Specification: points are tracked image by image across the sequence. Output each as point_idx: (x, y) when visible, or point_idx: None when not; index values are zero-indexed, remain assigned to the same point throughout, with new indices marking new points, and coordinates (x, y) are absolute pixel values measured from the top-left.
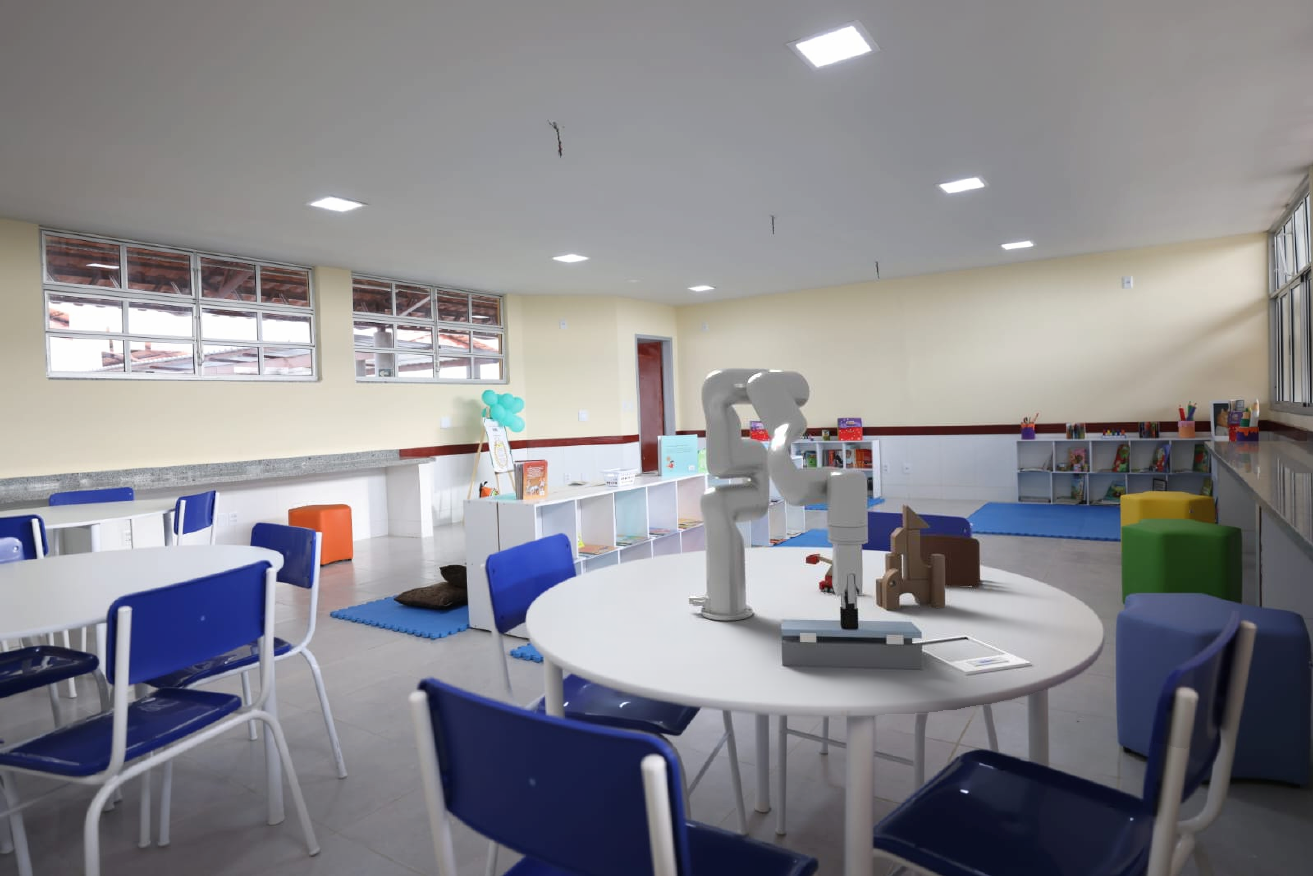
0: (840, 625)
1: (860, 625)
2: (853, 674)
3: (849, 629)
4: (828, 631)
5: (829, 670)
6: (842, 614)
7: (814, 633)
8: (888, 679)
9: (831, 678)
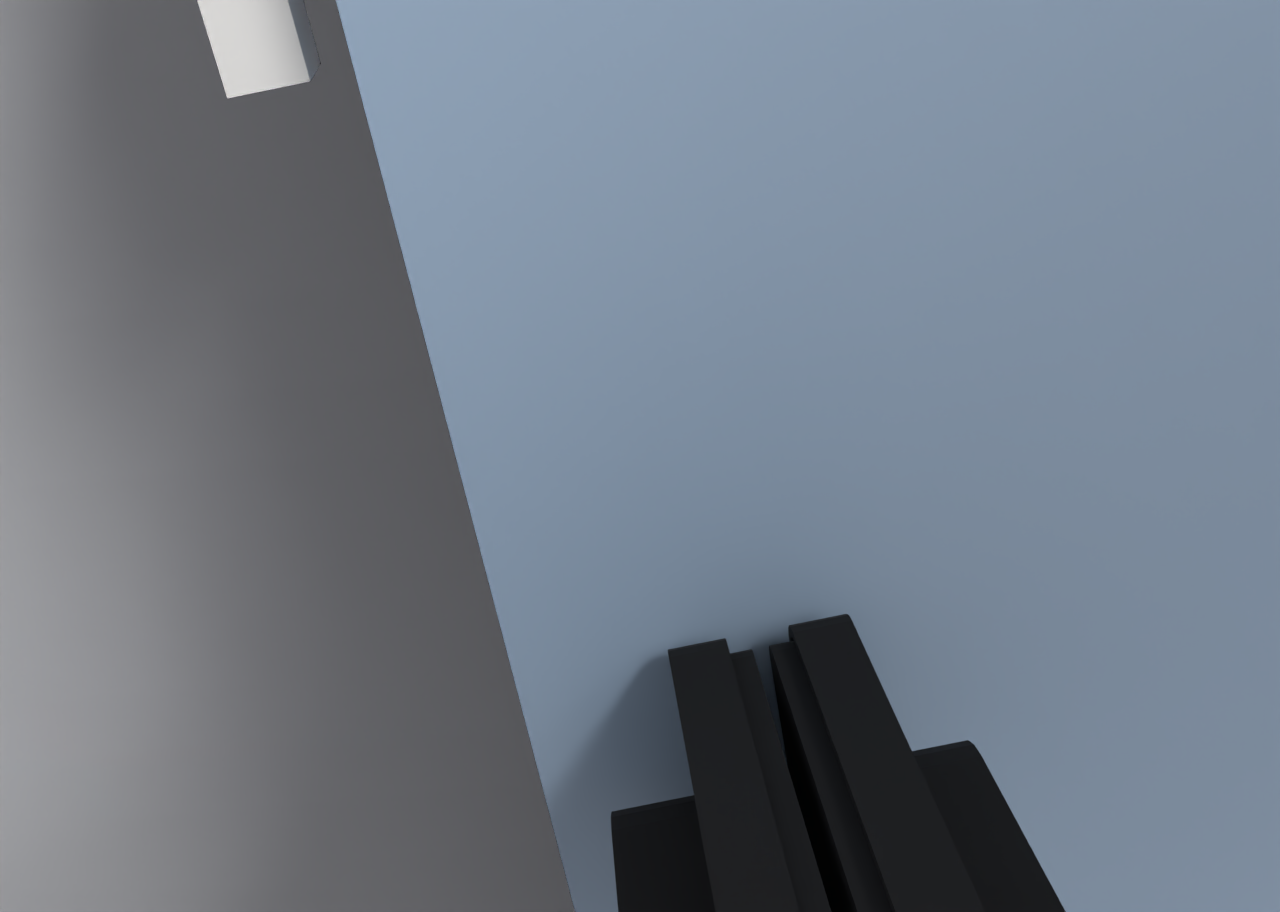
0: (1081, 541)
1: (1129, 858)
2: (281, 539)
3: (660, 780)
4: (438, 389)
5: (317, 228)
6: (716, 900)
7: (276, 47)
8: (266, 880)
9: (4, 294)
